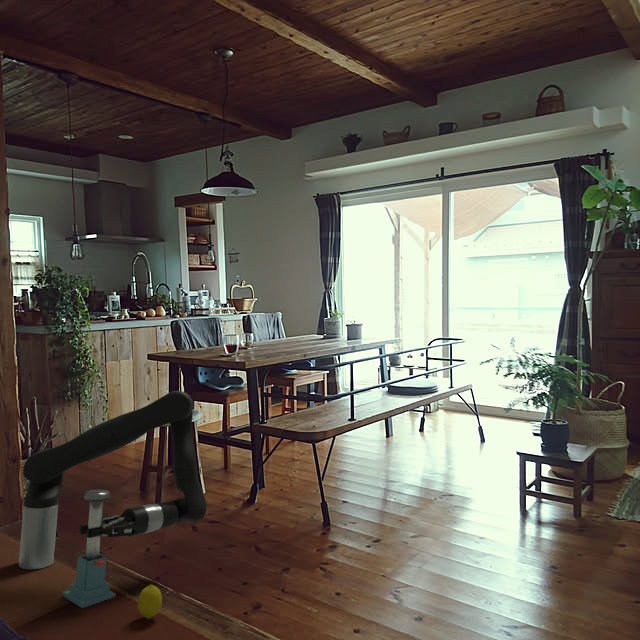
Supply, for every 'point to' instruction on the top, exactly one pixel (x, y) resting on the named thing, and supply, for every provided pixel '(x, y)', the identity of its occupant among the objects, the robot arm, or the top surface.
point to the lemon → (149, 601)
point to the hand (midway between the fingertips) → (83, 531)
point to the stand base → (89, 583)
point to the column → (94, 520)
